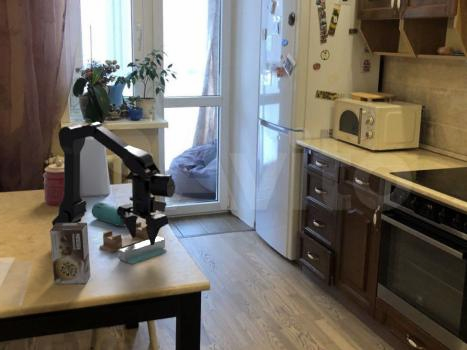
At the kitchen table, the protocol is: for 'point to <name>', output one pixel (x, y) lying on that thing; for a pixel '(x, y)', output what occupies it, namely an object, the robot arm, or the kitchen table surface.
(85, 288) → the kitchen table surface
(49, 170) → the canister
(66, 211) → the robot arm
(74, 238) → the coffee box
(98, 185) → the plastic bottle
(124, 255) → the rail
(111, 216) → the beverage bottle
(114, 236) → the rack
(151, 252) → the mat
